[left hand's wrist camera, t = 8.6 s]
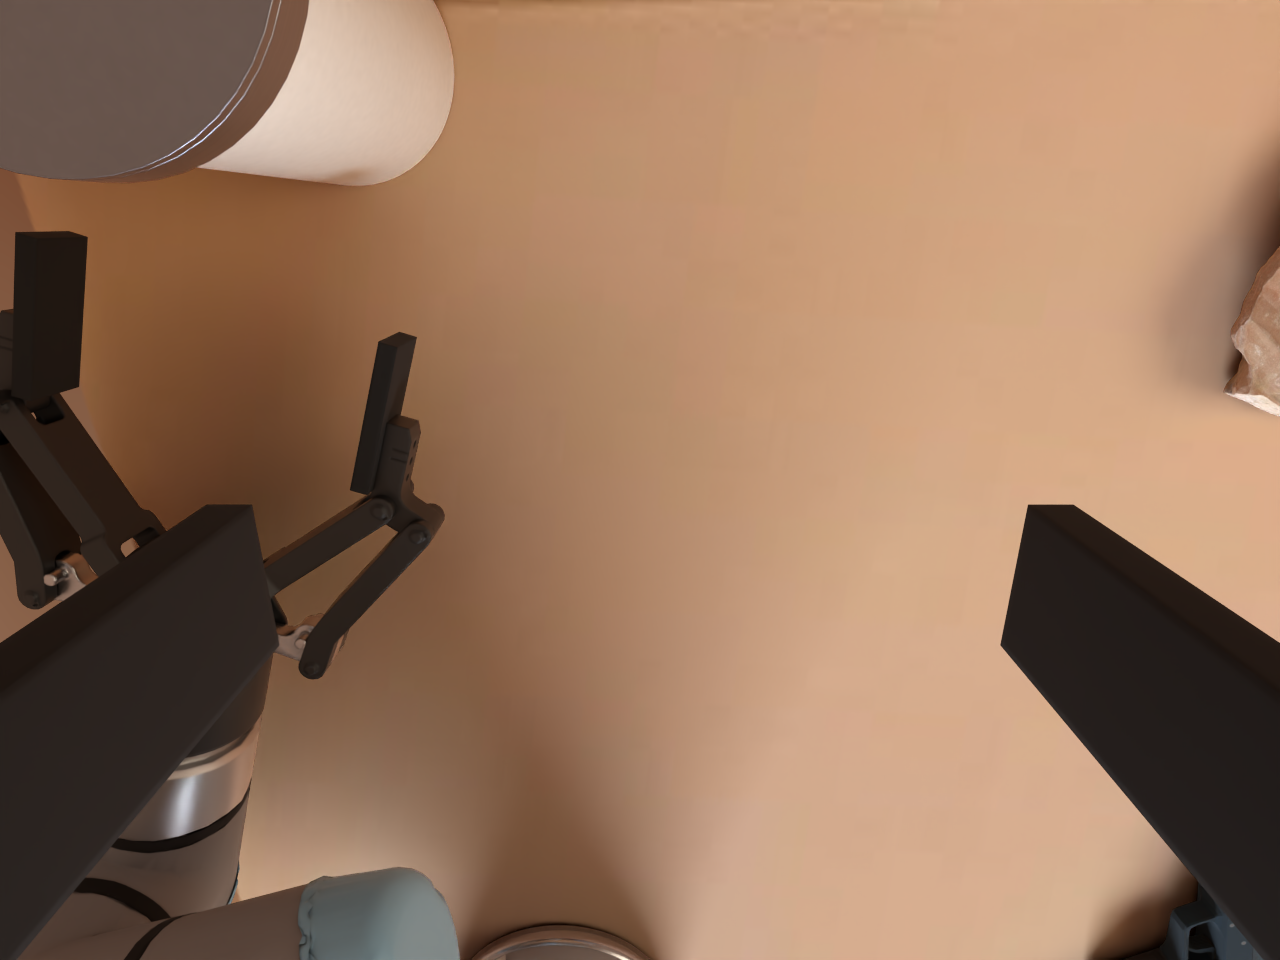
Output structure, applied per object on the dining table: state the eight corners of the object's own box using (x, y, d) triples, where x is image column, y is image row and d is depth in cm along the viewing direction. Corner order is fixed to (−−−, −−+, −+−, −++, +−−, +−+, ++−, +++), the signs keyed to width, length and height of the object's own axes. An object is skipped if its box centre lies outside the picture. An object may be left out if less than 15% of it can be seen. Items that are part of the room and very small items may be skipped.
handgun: (1074, 832, 48) (1263, 799, 47) (1082, 1017, 53) (1252, 990, 52) (1104, 873, 45) (1306, 838, 44) (1109, 1065, 50) (1290, 1037, 49)
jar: (191, 95, 33) (-291, -42, 16) (291, -124, 30) (-159, -577, 13) (387, 230, 35) (148, 239, 18) (496, 36, 32) (340, -174, 15)
